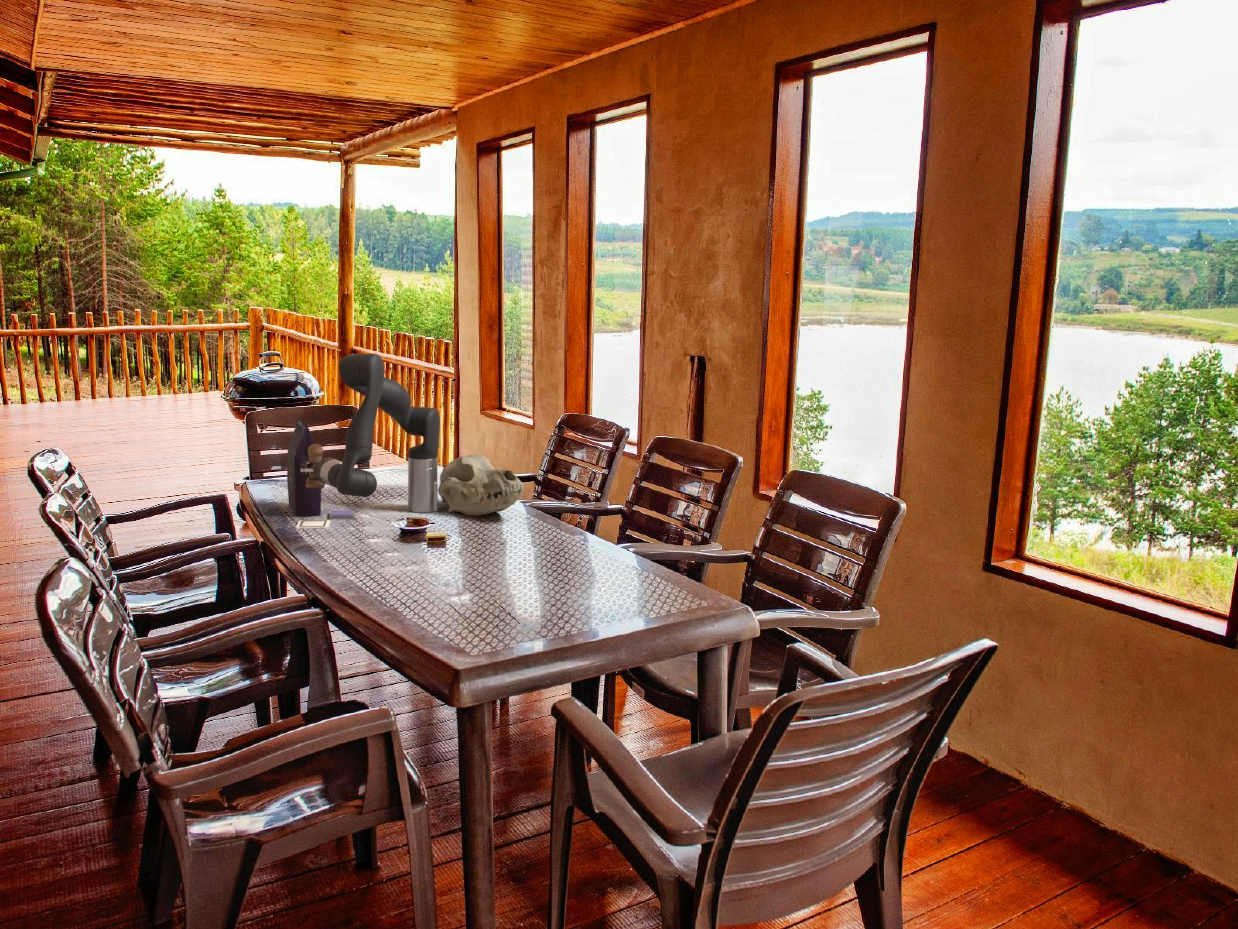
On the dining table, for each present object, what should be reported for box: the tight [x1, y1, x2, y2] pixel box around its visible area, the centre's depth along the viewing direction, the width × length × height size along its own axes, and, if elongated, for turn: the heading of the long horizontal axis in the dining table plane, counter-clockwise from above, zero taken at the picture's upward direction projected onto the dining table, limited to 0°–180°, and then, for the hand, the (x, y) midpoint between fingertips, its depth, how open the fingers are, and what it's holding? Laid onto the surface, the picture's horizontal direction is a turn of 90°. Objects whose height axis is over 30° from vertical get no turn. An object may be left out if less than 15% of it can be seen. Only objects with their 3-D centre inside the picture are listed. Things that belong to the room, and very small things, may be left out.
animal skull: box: [438, 453, 525, 517], centre depth 301 cm, size 22×35×22 cm, turn 52°
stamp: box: [306, 443, 326, 489], centre depth 276 cm, size 5×5×13 cm
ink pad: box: [328, 509, 355, 520], centre depth 289 cm, size 7×7×1 cm
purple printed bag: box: [286, 419, 323, 518], centre depth 292 cm, size 8×16×28 cm, turn 27°
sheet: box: [295, 519, 331, 530], centre depth 278 cm, size 9×8×1 cm
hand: (312, 463), depth 278 cm, fingers closed on stamp, 3 cm apart
